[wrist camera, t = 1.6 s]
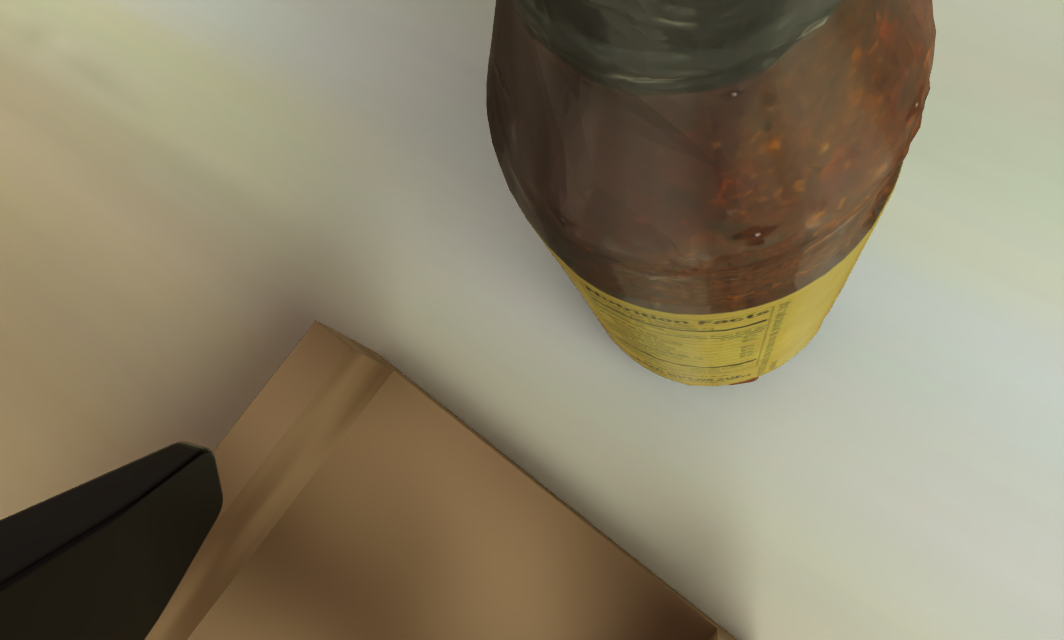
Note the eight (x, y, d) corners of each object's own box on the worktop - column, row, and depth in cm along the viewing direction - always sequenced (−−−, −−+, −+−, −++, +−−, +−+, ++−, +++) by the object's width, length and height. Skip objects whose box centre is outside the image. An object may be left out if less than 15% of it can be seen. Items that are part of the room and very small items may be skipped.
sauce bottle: (672, 139, 25) (544, -1075, 6) (875, 244, 23) (1584, -1021, 4) (547, 330, 24) (-20, -359, 6) (745, 453, 23) (906, 49, 4)
